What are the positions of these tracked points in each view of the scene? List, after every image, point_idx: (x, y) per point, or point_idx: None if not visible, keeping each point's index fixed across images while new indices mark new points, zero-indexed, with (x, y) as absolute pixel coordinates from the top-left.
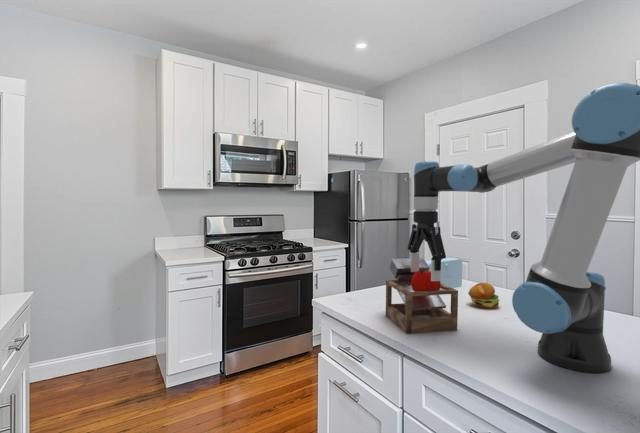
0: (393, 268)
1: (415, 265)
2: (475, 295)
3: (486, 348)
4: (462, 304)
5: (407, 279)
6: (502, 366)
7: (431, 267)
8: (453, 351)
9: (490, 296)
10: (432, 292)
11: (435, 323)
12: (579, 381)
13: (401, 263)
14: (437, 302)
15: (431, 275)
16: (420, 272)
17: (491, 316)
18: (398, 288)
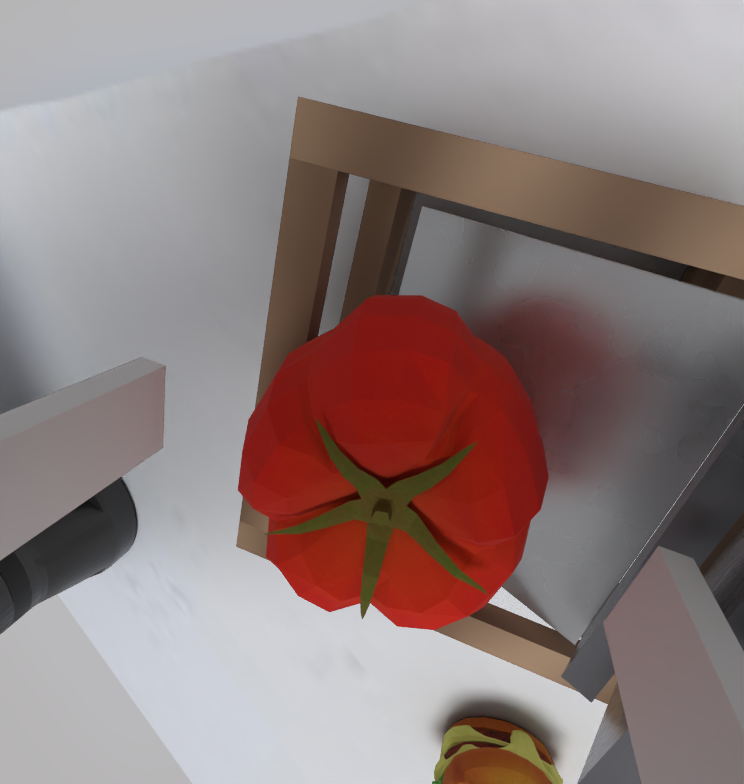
0: None
1: (657, 674)
2: (495, 766)
3: (164, 360)
4: (569, 714)
5: (698, 474)
6: (50, 281)
7: (5, 430)
8: (168, 218)
9: (442, 781)
10: (262, 365)
11: None
12: None
13: None
14: None
15: (110, 385)
16: (454, 525)
17: (390, 650)
18: (537, 156)
